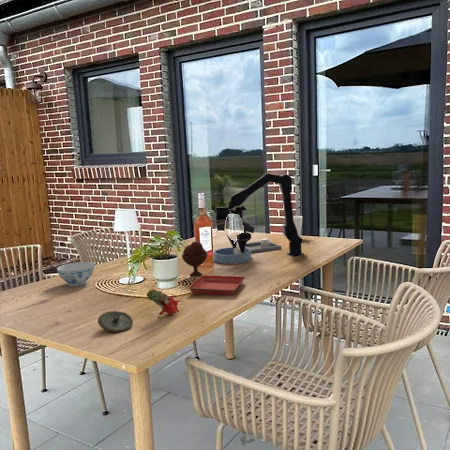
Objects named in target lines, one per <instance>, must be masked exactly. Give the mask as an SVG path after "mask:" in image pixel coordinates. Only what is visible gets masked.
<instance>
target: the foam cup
mask: <svg viewBox="0 0 450 450" xmlns="http://www.w3.org/2000/svg"><path fill="white" fill-rule="evenodd" d="M293 220H294V224H295V226H296V229H297V232H298V236H299V237H300V238H302V236H301V235H302V227H303V216H302V215H293Z"/></svg>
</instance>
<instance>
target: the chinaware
mask: <svg viewBox="0 0 450 450" xmlns="http://www.w3.org/2000/svg"><path fill="white" fill-rule="evenodd" d="M94 269H95V263H94V262H92V261H91V262H90V261H79V262H69V263H66V264H63V265H60V266H58V267H56V270H57V273H58V275H59V277H60V278H61V279H62V280H63V281H64V282H66V283H67V284H68V285H69V286H70V287H80V286H83V285H85V284H86V283H87V281H88V280H89V279H90V278H91V276H92V275H93V272H94ZM79 285H80V286H79Z"/></svg>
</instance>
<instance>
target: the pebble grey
mask: <svg viewBox="0 0 450 450" xmlns="http://www.w3.org/2000/svg"><path fill="white" fill-rule="evenodd" d="M260 242H261V248H265V247H270V242H271V239H270V238H261V239H260Z"/></svg>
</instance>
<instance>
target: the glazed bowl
mask: <svg viewBox="0 0 450 450" xmlns="http://www.w3.org/2000/svg"><path fill="white" fill-rule="evenodd" d="M212 254H213V255H212V257H213V261H214V262H215V263H217V264H227V263H235V264H240V263H241V262H242V263H246V262H249V261H251V259H252V253H251V249H248V248H245V250H244V253H243V254H237V255H234V248H233V247H232V246H231V247H230V246H228V247H223V248H219V249H215V250H213V252H212Z"/></svg>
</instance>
